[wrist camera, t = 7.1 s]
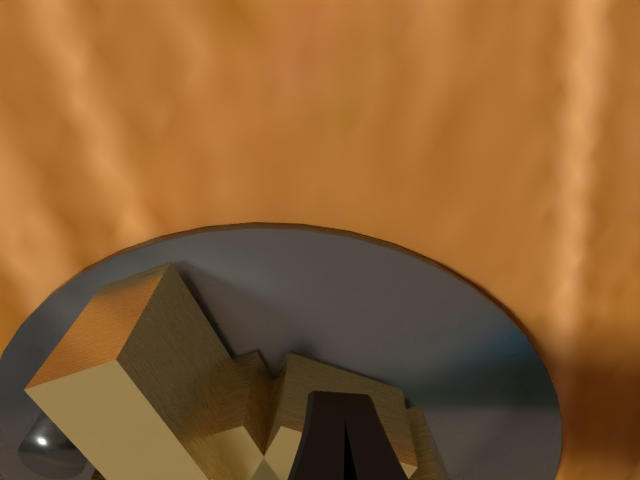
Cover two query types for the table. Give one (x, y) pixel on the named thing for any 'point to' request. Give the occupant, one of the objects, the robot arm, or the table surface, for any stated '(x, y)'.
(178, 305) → the golden segmented ring
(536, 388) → the cap base
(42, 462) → the stop pin
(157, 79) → the table surface
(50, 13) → the table surface
